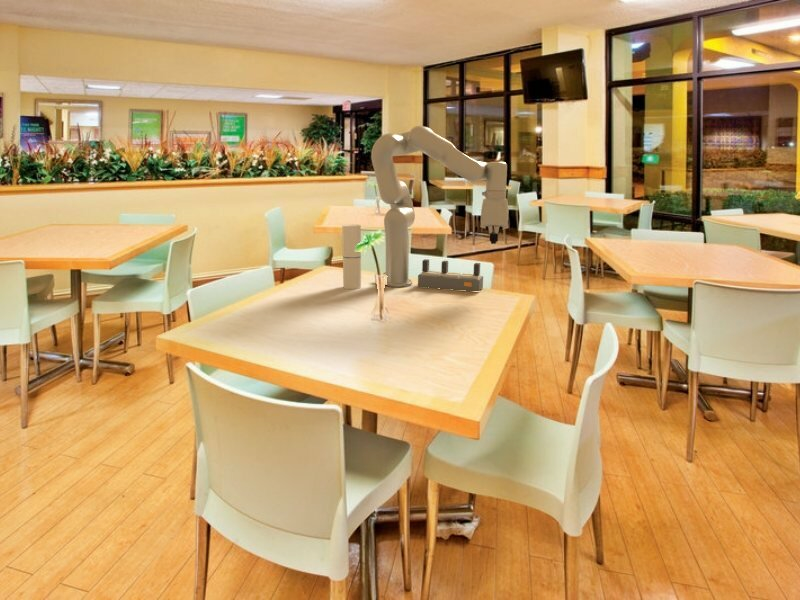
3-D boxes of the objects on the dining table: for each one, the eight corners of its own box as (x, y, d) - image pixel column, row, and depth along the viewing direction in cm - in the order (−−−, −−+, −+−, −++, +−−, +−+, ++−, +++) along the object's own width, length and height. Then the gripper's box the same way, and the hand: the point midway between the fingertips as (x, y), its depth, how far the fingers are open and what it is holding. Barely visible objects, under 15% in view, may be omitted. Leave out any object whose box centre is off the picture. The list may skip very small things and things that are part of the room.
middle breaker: (441, 272, 219) (441, 261, 218) (443, 271, 222) (443, 260, 221) (446, 273, 218) (446, 262, 217) (448, 271, 221) (448, 260, 220)
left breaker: (422, 271, 221) (422, 260, 220) (424, 269, 224) (424, 259, 223) (427, 271, 221) (427, 260, 220) (429, 270, 223) (429, 259, 222)
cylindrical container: (345, 289, 216) (344, 226, 210) (342, 285, 223) (340, 224, 217) (362, 288, 218) (362, 226, 212) (359, 284, 225) (358, 224, 218)
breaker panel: (417, 287, 221) (417, 272, 219) (423, 283, 228) (423, 269, 227) (478, 292, 213) (479, 277, 211) (482, 288, 221) (483, 273, 219)
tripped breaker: (473, 275, 215) (473, 264, 214) (474, 273, 218) (475, 262, 216) (478, 275, 214) (479, 264, 213) (479, 274, 217) (480, 263, 216)
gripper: (474, 195, 205) (472, 243, 210) (514, 196, 201) (511, 245, 205) (477, 194, 212) (476, 241, 217) (516, 195, 207) (514, 243, 212)
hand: (493, 243), depth 211 cm, fingers closed
